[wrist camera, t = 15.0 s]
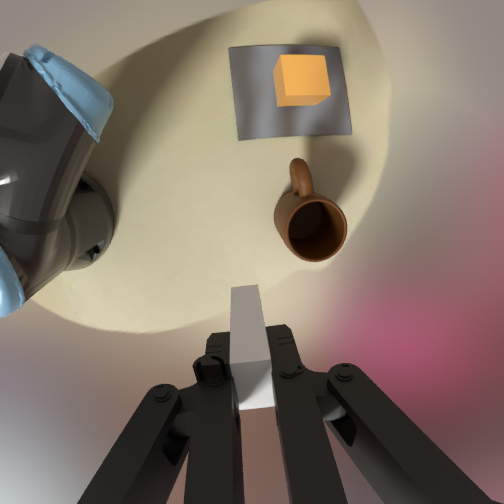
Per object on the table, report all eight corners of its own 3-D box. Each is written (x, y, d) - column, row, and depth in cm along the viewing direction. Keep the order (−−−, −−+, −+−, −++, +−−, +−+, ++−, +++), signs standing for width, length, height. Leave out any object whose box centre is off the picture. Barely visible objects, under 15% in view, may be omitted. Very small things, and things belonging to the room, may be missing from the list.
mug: (258, 165, 37) (266, 165, 28) (311, 152, 37) (334, 150, 28) (279, 246, 41) (291, 271, 32) (328, 233, 41) (353, 253, 32)
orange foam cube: (272, 71, 32) (280, 54, 25) (310, 71, 32) (324, 55, 26) (277, 106, 33) (285, 95, 27) (315, 105, 33) (330, 95, 27)
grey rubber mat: (238, 140, 36) (239, 135, 29) (228, 49, 32) (227, 27, 24) (350, 134, 36) (373, 130, 29) (337, 48, 32) (356, 29, 25)
